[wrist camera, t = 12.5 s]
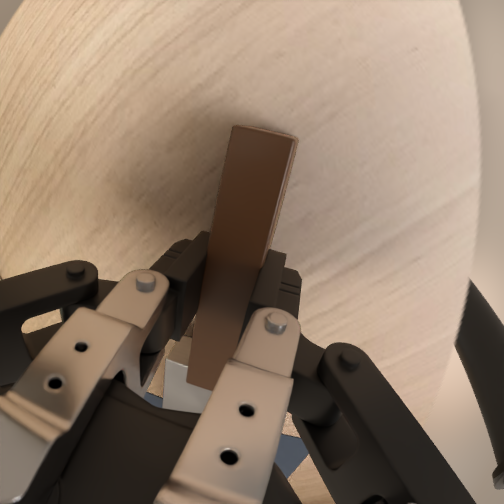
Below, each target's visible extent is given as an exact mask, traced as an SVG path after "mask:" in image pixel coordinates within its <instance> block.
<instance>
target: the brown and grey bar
mask: <svg viewBox="0 0 504 504" xmlns="http://www.w3.org/2000/svg"><path fill="white" fill-rule="evenodd" d="M298 142H299V139H298V138H297V137H293V136H290V135H286V134H282V133H278V132H274V131H270V130H265V129H261V128H257V127H251V126H243V125H234V126H233V127H232V131H231V136H230V140H229V145H228V149H227V154H226V158H225V163H224V167H223V172H222V177H221V182H220V186H219V191H218V196H217V201H216V206H215V211H214V216H213V221H212V226H211V232H210V237H209V242H208V247H207V253H208V254H207V259H206V264H205V270H204V275H203V281H202V287H201V292H200V298H199V304H198V310H197V312H196V316H195V323H194V329H193V335H192V338H191V337H188V336H185V335H183V336H182V338H181V340H180V342H178V341H176V342H175V344H174V346H173V347H172V349H171V351H170V352H169V354H168V355H167V357H166V360H165V373H164V389H163V407H162V408H165V409H171V410H178V411H185V412H193V413H202V412H203V410H204V408H205V406H206V404H207V402H208V399H209V397H210V395H211V393H212V391H213V389H214V387H215V385H216V383H217V381H218V379H219V377H220V375H221V373H222V371H223V368H224V366H225V364H226V362H227V361H228V359H229V358H232V357H233V355H234V353H235V351H236V347H237V344H238V340H239V336H240V333H241V329H242V325H243V321H244V318H245V314H246V310H247V307H248V303H249V300H250V297H251V294H252V291H253V288H254V286H255V283H256V280H257V277H258V274H259V272H260V269H261V268H263V265H264V262H265V259H266V256H267V254H268V251H269V249H270V247H271V244H272V240H273V236H274V233H275V229H276V225H277V222H278V218H279V214H280V210H281V207H282V203H283V199H284V195H285V192H286V188H287V184H288V180H289V176H290V173H291V169H292V165H293V161H294V157H295V154H296V150H297V146H298Z"/></svg>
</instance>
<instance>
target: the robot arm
mask: <svg viewBox="0 0 504 504" xmlns="http://www.w3.org/2000/svg"><path fill="white" fill-rule="evenodd" d="M209 237H210V232H207V231H201V232H200V233H199V235H198V236H197V237H196V238H195V239H194V240H193V241H192V240H188V239H184V240H181V241H178V242H176V243H174V244H173V245H172V246H171V247H170V248H169V250H167V251H166V252H165V253H164V255H162V256H161V257H160V258H159V259H158V260H157V261H156V262H155V264H154V265H153V266H152V267H151V268H150V269H149V270H148V269H139V270H134V271H131V272H129V273H127V274H126V275H125V276H124V277H123V278H122V279H121V280H120V281H119V282H116V281H109V280H101V279H98V270H97V268H96V266H95V265H93V264H92V263H90V262H87V261H82V260H74V261H68V262H64V263H61V264H57V265H53V266H50V267H46V268H42V269H39V270H35V271H32V272H28V273H24V274H21V275H17V276H14V277H11V278H7V279H4V280H0V504H302V503H301V501H300V500H299V498H298V496H297V495H296V493H295V492H294V490H293V488H292V487H291V485H290V484H289V482H288V480H287V479H286V477H285V475H284V474H283V472H282V471H281V469H280V468H279V467H278V465H277V464H276V463H275V462H274V460H275V457H276V453H277V449H278V445H279V441H280V437H281V433H282V429H283V425H284V421H285V417H286V413H287V412H289V413H291V414H292V421H293V423H294V425H295V427H296V429H297V431H298V433H299V435H300V437H301V439H302V441H303V443H304V445H305V447H306V449H307V451H308V453H309V454H310V456H311V458H312V460H313V462H314V464H315V466H316V468H317V470H318V472H319V474H320V475H321V477H322V479H323V481H324V483H325V485H326V487H327V489H328V490H329V492H330V494H331V496H332V498H333V500H334V502H335V503H336V504H476V503H475V501H474V500H473V498H472V497H471V495H470V494H469V492H468V491H467V490H466V488H465V487H464V485H463V484H462V482H461V481H460V480H459V478H458V477H457V475H456V474H455V472H454V471H453V470H452V468H451V467H450V465H449V464H448V463H447V461H446V460H445V459H444V457H443V456H442V454H441V453H440V452H439V450H438V449H437V447H436V446H435V445H434V443H433V442H432V440H431V439H430V438H429V436H428V435H427V434H426V432H425V431H424V430H423V428H422V427H421V425H420V424H419V423H418V421H417V420H416V419H415V417H414V416H413V415H412V413H411V412H410V411H409V409H408V408H407V407H406V405H405V404H404V403H403V401H402V400H401V399H400V397H399V396H398V395H397V393H396V392H395V391H394V389H393V388H392V387H391V385H390V384H389V383H388V381H387V380H386V379H385V377H384V376H383V375H382V373H381V372H380V371H379V370H378V368H377V367H376V366H375V364H374V363H373V362H372V360H371V359H370V358H369V357H368V355H367V354H366V353H365V352H364V351H363V350H361V349H360V348H358V347H356V346H354V345H352V344H348V343H342V342H338V343H333V344H331V345H329V346H328V347H327V348H326V349H323V348H321V347H319V346H317V345H315V344H314V343H312V342H310V341H309V340H308V339H306V338H305V337H304V336H303V334H302V333H301V326H300V324H299V322H298V312H299V303H300V293H301V284H302V279H301V277H300V275H299V273H298V272H297V271H296V270H293V269H289V268H286V267H284V265H285V260H286V255H287V254H285V253H281V252H278V251H274V250H271V249H269V251H268V254H267V256H266V259H265V262H264V265H263V268H261V269H260V272H259V274H258V277H257V280H256V283H255V286H254V288H253V291H252V294H251V297H250V300H249V303H248V307H247V310H246V314H245V318H244V321H243V325H242V329H241V333H240V336H239V340H238V344H237V347H236V351H235V353H234V355H233V357H232V358H229V359H228V361H227V362H226V364H225V366H224V368H223V371H222V373H221V375H220V377H219V379H218V381H217V383H216V385H215V387H214V389H213V391H212V393H211V395H210V397H209V399H208V402H207V404H206V406H205V408H204V410H203V412H202V413H193V412H185V411H178V410H171V409H165V408H159V407H156V406H154V405H152V404H150V403H149V402H148V401H146V400H145V399H144V396H145V394H146V391H147V389H148V387H149V385H150V383H151V381H152V379H153V376H154V374H155V372H156V370H157V368H158V366H159V364H160V362H161V360H162V358H163V356H164V351H165V345H166V344H167V342H168V341H169V339H173V340H175V341H178V342H180V340H181V338H182V336H183V335H184V333H185V331H186V329H187V328H188V326H189V324H190V322H191V321H192V319H193V317H194V316H195V314H196V312H197V310H198V304H199V298H200V292H201V287H202V281H203V275H204V270H205V264H206V259H207V254H208V253H207V247H208V242H209ZM56 309H60V314H61V320H62V322H60V323H57V324H54V325H51V326H48V327H45V328H43V329H40V330H37V331H34V332H31V333H27V334H26V333H22V331H21V327H22V324H23V323H24V322H25V321H26V320H27V319H29V318H32V317H35V316H38V315H41V314H44V313H47V312H50V311H53V310H56ZM503 484H504V483H503Z"/></svg>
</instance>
